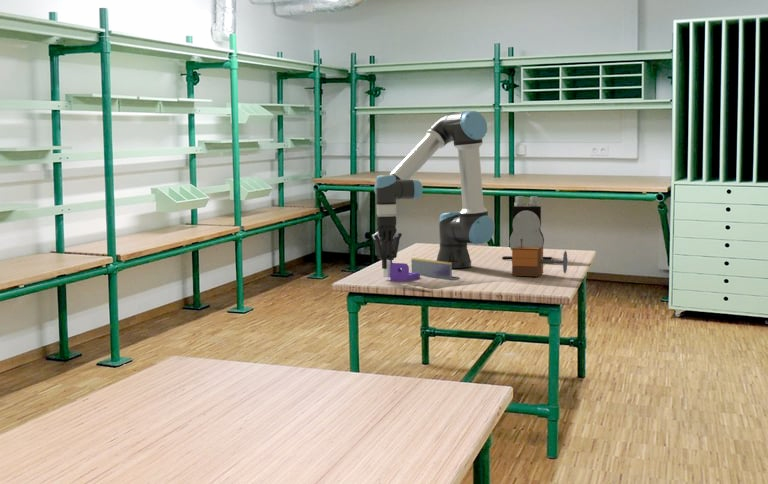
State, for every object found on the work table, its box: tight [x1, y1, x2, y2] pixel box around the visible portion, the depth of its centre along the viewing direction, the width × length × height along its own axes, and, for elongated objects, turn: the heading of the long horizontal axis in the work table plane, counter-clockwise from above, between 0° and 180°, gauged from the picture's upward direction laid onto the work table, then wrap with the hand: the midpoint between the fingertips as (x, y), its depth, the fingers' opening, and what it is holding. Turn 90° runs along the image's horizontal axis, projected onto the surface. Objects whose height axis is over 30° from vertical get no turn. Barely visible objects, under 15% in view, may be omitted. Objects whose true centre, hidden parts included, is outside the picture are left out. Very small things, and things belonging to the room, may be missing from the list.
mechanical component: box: [501, 195, 553, 260], centre depth 390 cm, size 22×21×30 cm
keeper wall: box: [411, 257, 461, 281], centre depth 339 cm, size 5×24×7 cm, turn 36°
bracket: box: [389, 262, 421, 282], centre depth 332 cm, size 12×7×7 cm, turn 153°
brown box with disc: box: [511, 239, 568, 277], centre depth 342 cm, size 11×20×14 cm, turn 67°
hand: (387, 277), depth 329 cm, fingers closed
